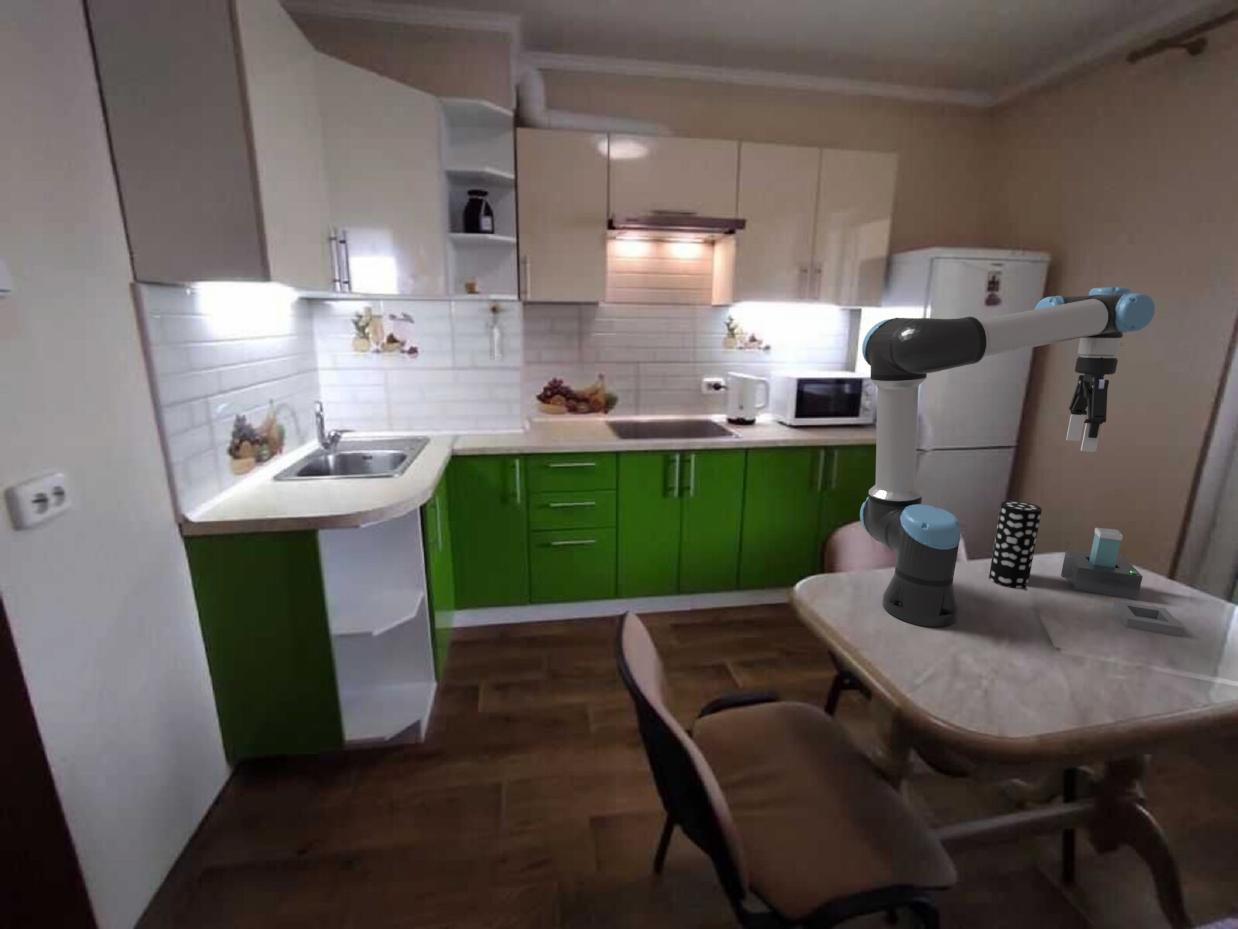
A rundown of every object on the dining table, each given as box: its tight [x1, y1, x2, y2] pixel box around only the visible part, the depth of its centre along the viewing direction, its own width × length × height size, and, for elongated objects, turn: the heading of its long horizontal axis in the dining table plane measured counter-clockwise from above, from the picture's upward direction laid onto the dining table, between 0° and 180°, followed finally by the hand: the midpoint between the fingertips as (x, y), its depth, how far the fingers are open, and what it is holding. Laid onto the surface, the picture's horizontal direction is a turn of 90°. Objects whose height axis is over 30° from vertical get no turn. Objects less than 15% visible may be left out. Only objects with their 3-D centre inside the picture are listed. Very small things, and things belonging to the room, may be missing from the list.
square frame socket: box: [1111, 600, 1184, 637], centre depth 126 cm, size 9×9×3 cm
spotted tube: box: [988, 500, 1043, 589], centre depth 146 cm, size 8×8×20 cm
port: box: [1060, 549, 1143, 601], centre depth 143 cm, size 12×12×7 cm
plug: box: [1089, 527, 1124, 568], centre depth 142 cm, size 4×4×12 cm
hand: (1080, 445), depth 141 cm, fingers open, 13 cm apart
